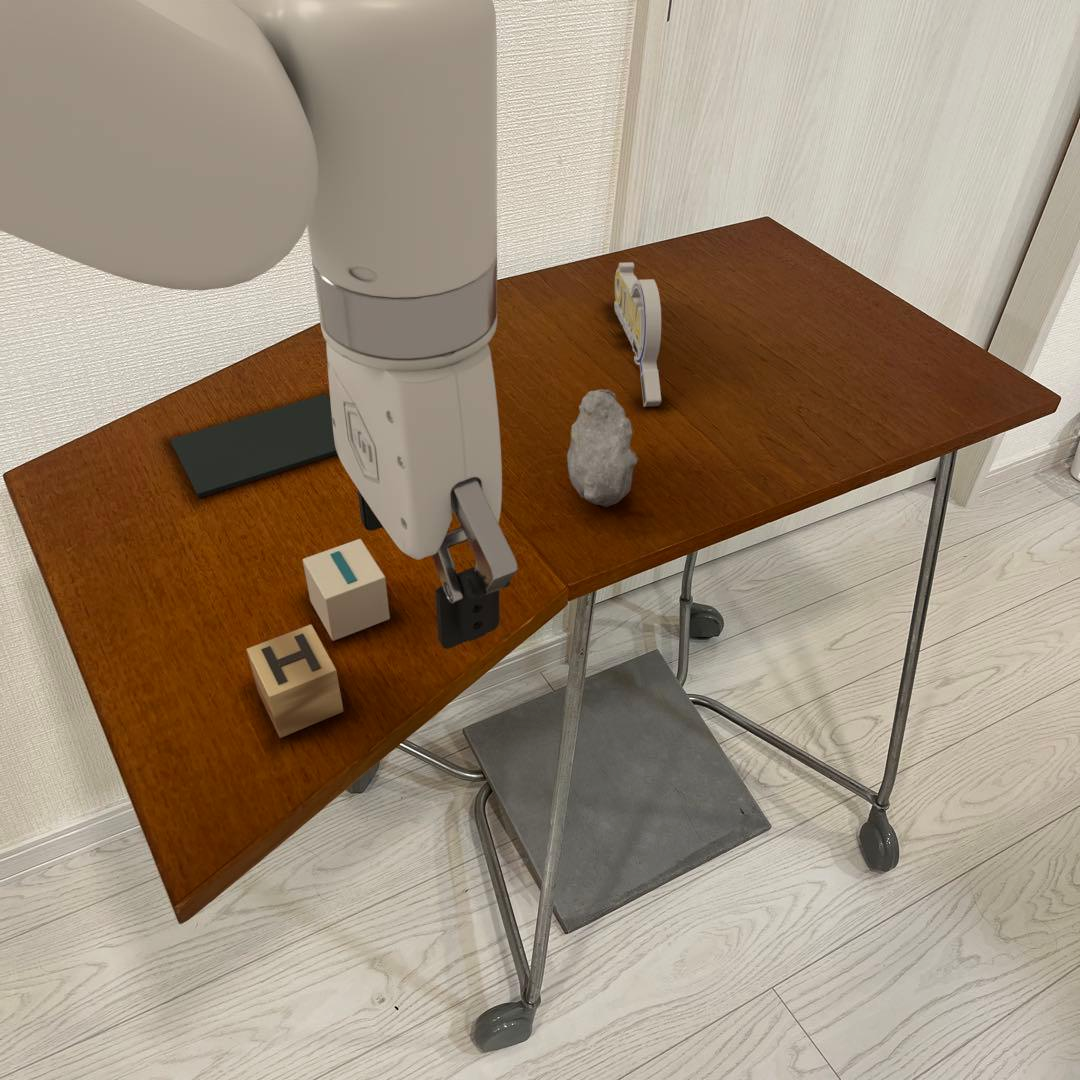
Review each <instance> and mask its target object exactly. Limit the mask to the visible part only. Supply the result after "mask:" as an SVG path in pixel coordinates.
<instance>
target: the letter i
mask: <svg viewBox="0 0 1080 1080" xmlns="http://www.w3.org/2000/svg"><path fill="white" fill-rule="evenodd" d="M302 565H303V569H304V575H305V579H306V580H305V581H306V584H307V591H308V596H309V601H310V603H311V606H313V609H314V610H315V612H316V614H317V616H318V617H319V619H320V621H321V623H322V625H323V626H324V629H325V630H326V632H327V633H328V635H329V638H330V639H331V641H332V642H334V641H335V642H336V641H337V640H340V639H342V638H345V637H347V636H349V635H350V636H351V635H352V634H355V633H357V632H360V631H363V630H366V629H367V628H370V627H373V626H376V625H378V624H380V623H383V622H386V621H389V620H390V619H391V617H390V608H389V597H388V590H387V589H388V588H387V582H386V576H385V574H384V573H383V571H382V570H381V568H380V566H379V565H378V562H376V560H375V559H374V558H373V555H372V554H371V552H370V551H369V549H368V548H367V546H366V545H365V543H364V541H363V540H362V539H361V538H358V539H355V540H352V541H350V542H347V543H344V544H341V545H339V546H335V547H332V548H329V549H327V550H324V551H321V552H319V553H316V554H312V555H310V556H306V557H305V558H303V559H302Z"/></svg>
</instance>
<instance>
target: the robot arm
mask: <svg viewBox="0 0 1080 1080" xmlns="http://www.w3.org/2000/svg"><path fill="white" fill-rule="evenodd" d="M497 31H498V30H497V15H496V9H495V3H494V1H493V0H0V231H1V232H3V233H6V234H8V235H11V236H13V237H15V238H18V239H20V240H23V241H25V242H28V243H30V244H33V245H35V246H37V247H40V248H42V249H44V250H46V251H50V252H52V253H54V254H56V255H59V256H61V257H64V258H66V259H68V260H72V261H74V262H77V263H79V264H82V265H84V266H87V267H90V268H93V269H95V270H98V271H101V272H104V273H107V274H109V275H113V276H116V277H118V278H122V279H126V280H129V281H132V282H136V283H140V284H145V285H150V286H156V287H160V288H166V289H170V290H182V291H185V290H186V291H208V290H209V291H210V290H218V289H225V288H231V287H233V286H237V285H241V284H244V283H247V282H250V281H252V280H254V279H255V278H257V277H260V276H261V275H262V274H265V273H266V272H268V271H270V270H271V269H273V268H274V267H276V265H278V264H279V263H280V262H281V261H282V260H284V259H285V258H286V257H287V256H288V255H289V254H290V253H291V252H292V250H293V249H294V248H295V246H297V244H298V242H300V240H301V238H302V237H303V235H304V233H305V231H306V229H307V235H308V243H309V250H310V251H309V252H310V256H311V263H312V271H313V278H314V286H315V293H316V299H317V307H318V314H319V323H320V329H321V333H322V336H323V338H324V341H325V342H326V343H325V345H326V362H327V363H326V364H327V377H328V388H329V389H328V390H329V400H330V402H331V413H332V424H333V433H334V442H335V447H336V451H337V453H338V454H337V456H338V458H339V461H340V463H341V465H342V466H343V468H344V470H345V472H346V474H347V475H348V476H349V478H350V479H351V481H352V483H353V484H354V486H355V487H356V490H357V497H358V506H359V512H360V513H359V514H360V520H361V524H362V525H363V527H364V528H365V530H367V531H371V532H373V531H376V530H379V529H382V528H384V530H385V531H386V533H387V534H388V536H389V537H390V538H391V540H392V542H393V543H394V544H395V545H396V547H398V549H399V550H400V551H401V552H402V553H403V554H405V555H407V556H408V557H409V558H412V559H414V560H417V561H419V560H423V559H424V558H428V557H430V556H431V557H432V560H433V562H434V563H433V564H434V566H435V568H436V572H437V575H438V577H439V581H440V583H441V586H438V588H437V589H435V590H434V593H435V609H436V625H437V639H438V642H439V644H440V645H441V647H442V648H443V649H444V650H448V649H452V648H454V647H457V646H459V645H462V644H464V643H466V642H471V641H475V640H477V639H479V638H482V637H484V636H486V635H487V634H488V633H490V632H493V631H495V630H496V629H498V627H499V625H500V590H502V589H505V588H508V587H510V585H511V580H512V579H513V578H514V576H515V575H516V573H517V572H518V563H517V560H516V557H515V555H514V553H513V550H512V549H511V547H510V545H509V543H508V541H507V539H506V537H505V534H504V532H503V530H502V528H501V526H500V525H499V522H500V518H501V513H502V501H503V461H502V445H501V432H500V431H501V430H500V418H499V417H500V416H499V406H498V397H497V390H496V381H495V373H494V366H493V360H492V352H491V348H490V345H489V342H490V341H491V340H492V339H493V337H494V335H495V333H496V332H497V327H498V326H497V325H498V33H497ZM453 514H455V517H456V519H457V521H458V523H459V525H460V527H457V528H454V529H452V530H449V528H450V525H451V523H452V520H453ZM465 542H468V544H469V546H470V548H471V551H472V552H473V555H474V558H475V566H473V567H471V568H468V569H465V570H463V571H460V572H457V571H456V567H455V564H454V561H453V558H452V556H451V552H450V549H449V548H451V547H454V546H457V545H460V544H463V543H465Z"/></svg>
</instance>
